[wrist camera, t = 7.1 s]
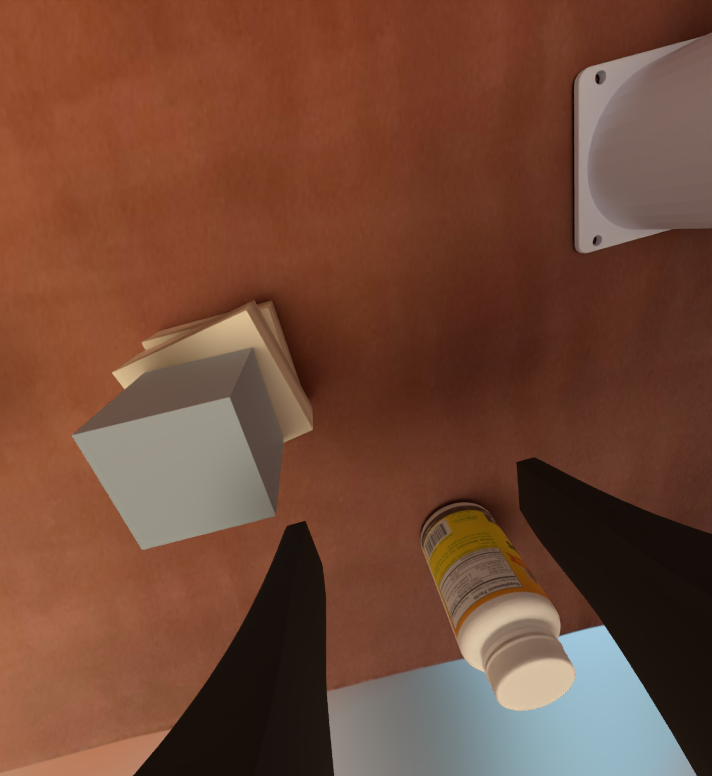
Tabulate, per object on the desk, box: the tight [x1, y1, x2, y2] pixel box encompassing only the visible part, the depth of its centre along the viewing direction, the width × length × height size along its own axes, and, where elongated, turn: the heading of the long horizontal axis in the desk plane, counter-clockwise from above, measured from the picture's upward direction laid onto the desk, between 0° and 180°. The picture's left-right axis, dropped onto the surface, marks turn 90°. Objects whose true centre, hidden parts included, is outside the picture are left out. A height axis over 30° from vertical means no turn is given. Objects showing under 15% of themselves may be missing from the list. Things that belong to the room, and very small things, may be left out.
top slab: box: [112, 300, 313, 443], centre depth 17 cm, size 6×6×2 cm
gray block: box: [72, 347, 284, 550], centre depth 14 cm, size 4×4×5 cm
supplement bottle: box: [421, 502, 575, 711], centre depth 22 cm, size 6×6×10 cm
